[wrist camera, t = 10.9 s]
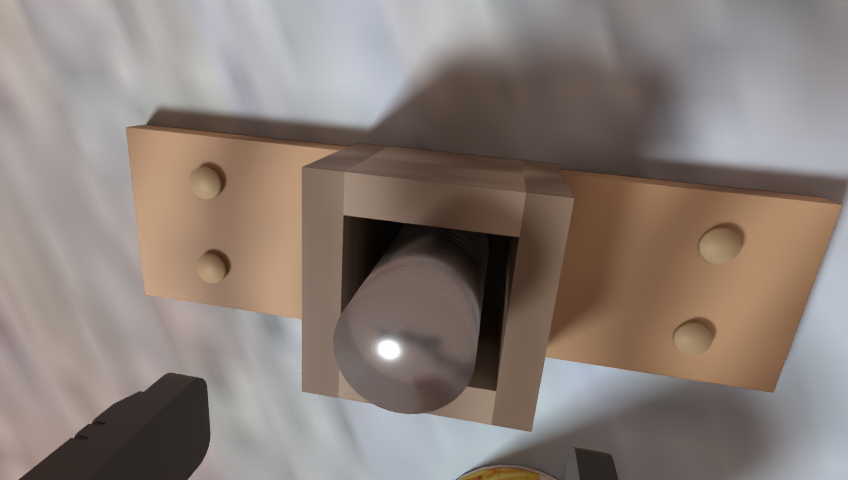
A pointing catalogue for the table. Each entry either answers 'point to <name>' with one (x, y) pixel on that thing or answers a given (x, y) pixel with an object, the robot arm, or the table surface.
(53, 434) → the table surface
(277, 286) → the hinge
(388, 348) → the hinge pin
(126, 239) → the table surface
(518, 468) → the canned food
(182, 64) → the table surface
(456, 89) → the table surface
